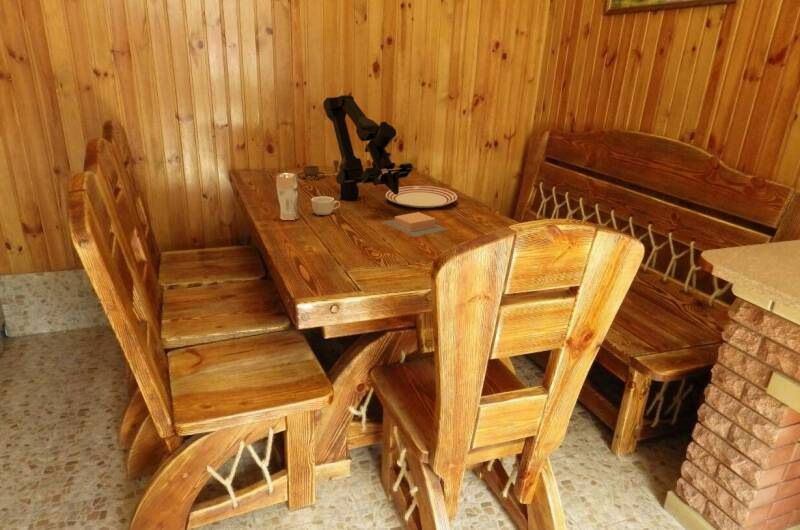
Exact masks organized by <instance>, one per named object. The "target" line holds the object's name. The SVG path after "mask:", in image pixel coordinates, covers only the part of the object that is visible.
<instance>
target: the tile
mask: <svg viewBox="0 0 800 530" xmlns="http://www.w3.org/2000/svg"><path fill="white" fill-rule="evenodd" d="M394 220H395V225H397V226H399V227H402V228H404V229H406V230H408V231H410V232H411V231H416V230H421V229H426V228H431V227H435V224H436V218H435V217H432V216H429V215H427V214H424V213H422V212H419V211H417V212H412V213H406V214H400V215H396V216H394Z"/></svg>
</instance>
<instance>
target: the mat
mask: <svg viewBox="0 0 800 530" xmlns="http://www.w3.org/2000/svg"><path fill="white" fill-rule="evenodd" d="M382 223H383V224H385V225H387V226H389V227H392V228H394V229H396V230H399V231H400V232H402V233H404V234H407V235H408V236H412V237H413V238H415V237H420V236H424V235H428V234H429V235H430V234H433V233H438V232H443V231H448V230H449V229H448V228H446V227H444V226H441V225H439V224H436V223H435V227H431V228H426V229H421V230H416V231H411V232H410V231H408V230H406V229H404V228H402V227H399V226H397V225H395V219H391V220H386V221H382Z"/></svg>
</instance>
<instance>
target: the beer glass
mask: <svg viewBox="0 0 800 530" xmlns="http://www.w3.org/2000/svg"><path fill="white" fill-rule="evenodd" d="M275 181H276V182H275V184H276V193H277V198H278V202H279V207H280V214H279V220H280V219H282V220H294V221H296V220H295V219H297V218H298V219H299V215H298V211H297V210H298V209H297V204H298V203H297V202H298V196H299V194H298V193H299V187H298V174H296V173H293V172H282V173H277V174H276V180H275ZM298 219H297V220H298ZM282 220H281V221H282Z"/></svg>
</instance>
